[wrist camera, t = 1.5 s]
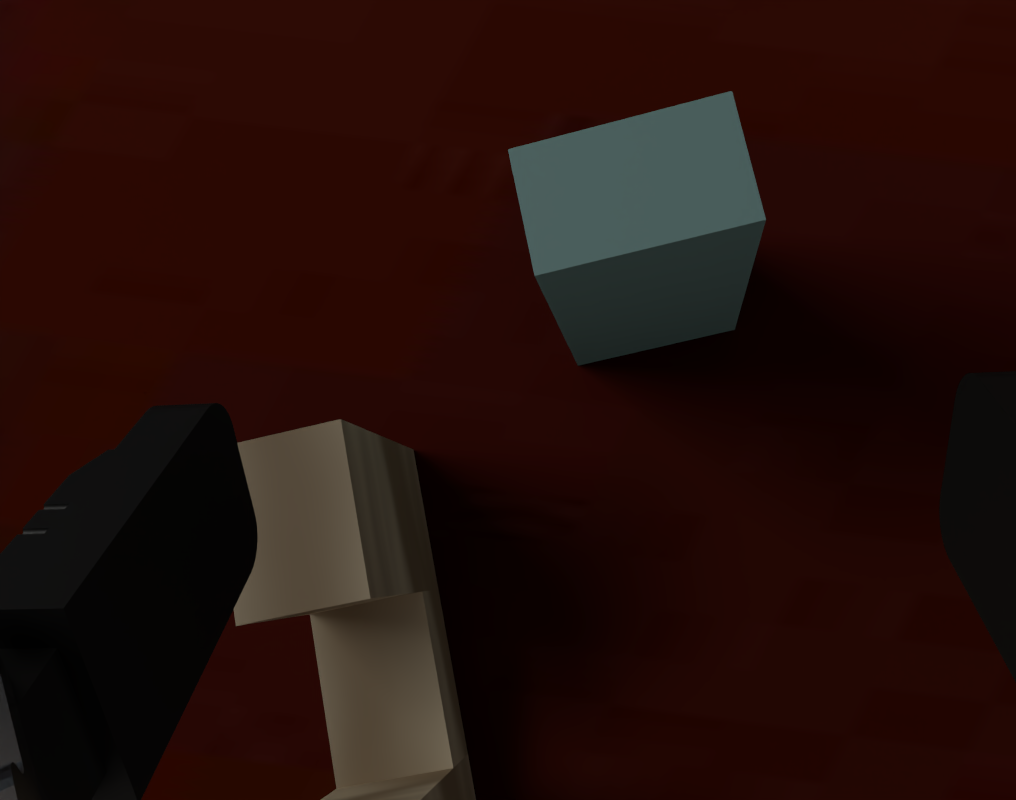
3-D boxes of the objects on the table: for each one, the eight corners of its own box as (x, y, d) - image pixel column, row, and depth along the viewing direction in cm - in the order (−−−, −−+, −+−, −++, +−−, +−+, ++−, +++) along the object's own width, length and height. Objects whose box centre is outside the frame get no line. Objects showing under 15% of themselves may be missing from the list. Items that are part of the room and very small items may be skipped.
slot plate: (413, 449, 31) (340, 419, 24) (495, 911, 28) (440, 1023, 21) (311, 472, 31) (211, 448, 25) (383, 929, 29) (293, 1045, 22)
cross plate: (712, 239, 30) (732, 90, 21) (734, 329, 30) (765, 219, 20) (558, 277, 31) (508, 149, 21) (578, 365, 30) (534, 275, 21)
